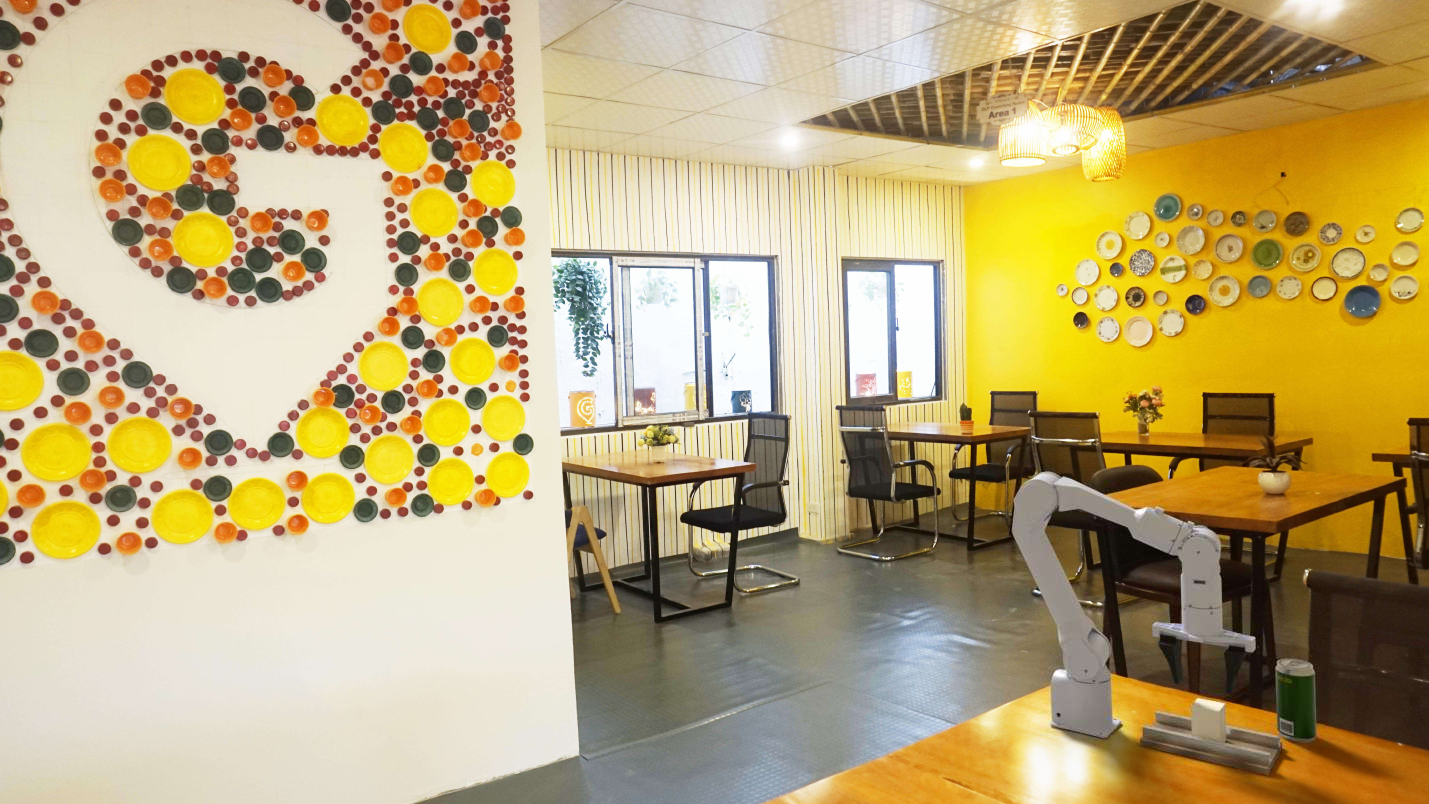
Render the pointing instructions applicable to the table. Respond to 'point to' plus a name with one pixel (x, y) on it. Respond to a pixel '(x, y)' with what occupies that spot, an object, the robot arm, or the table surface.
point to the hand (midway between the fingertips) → (1203, 686)
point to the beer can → (1296, 700)
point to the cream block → (1208, 720)
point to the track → (1213, 744)
